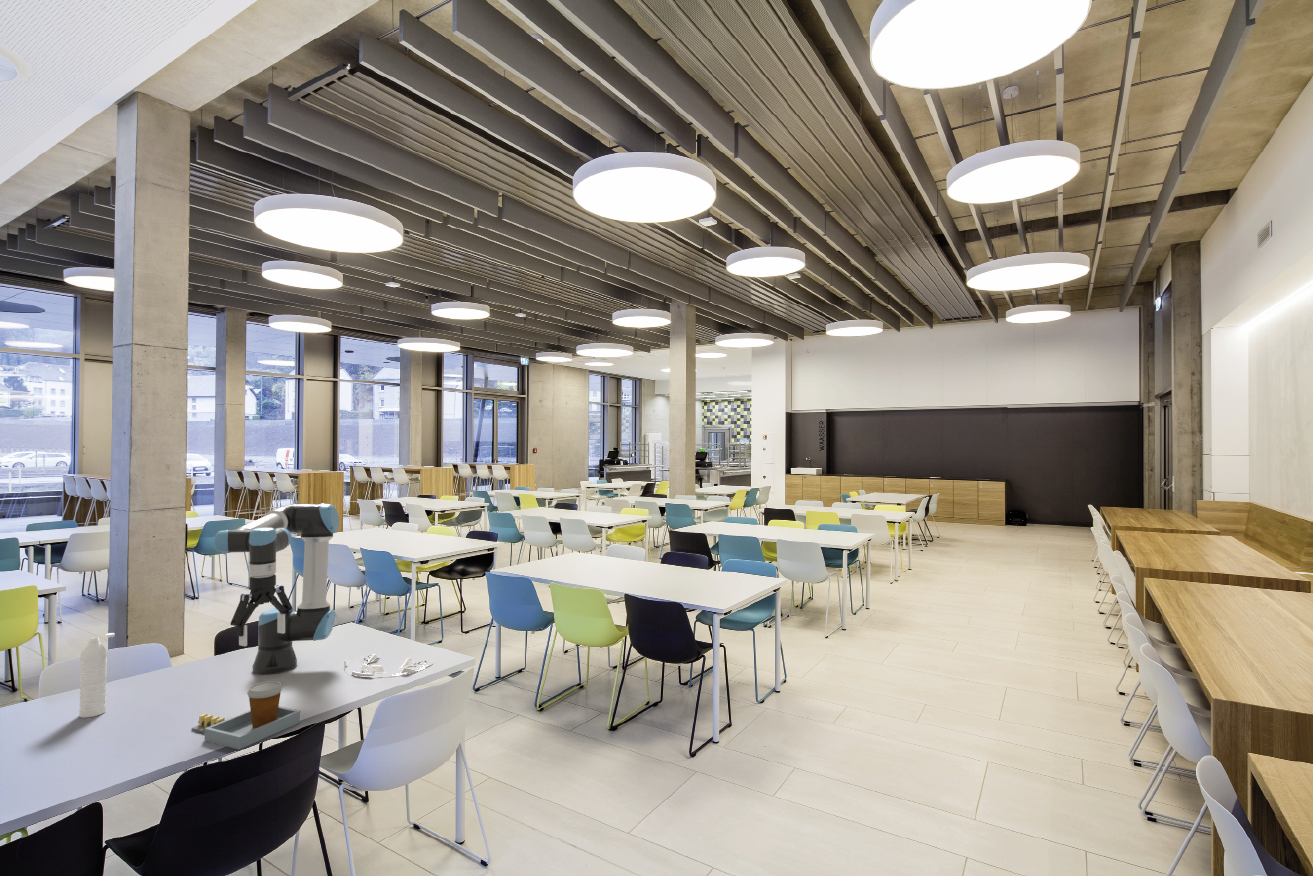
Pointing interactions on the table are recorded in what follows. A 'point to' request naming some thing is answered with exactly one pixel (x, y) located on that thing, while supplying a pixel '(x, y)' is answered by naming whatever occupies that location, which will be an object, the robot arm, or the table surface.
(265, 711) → the disposable coffee cup
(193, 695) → the table surface
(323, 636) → the robot arm
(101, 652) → the water bottle
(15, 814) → the table surface
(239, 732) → the shallow rectangular grey tray
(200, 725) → the clip
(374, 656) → the cable organizer
